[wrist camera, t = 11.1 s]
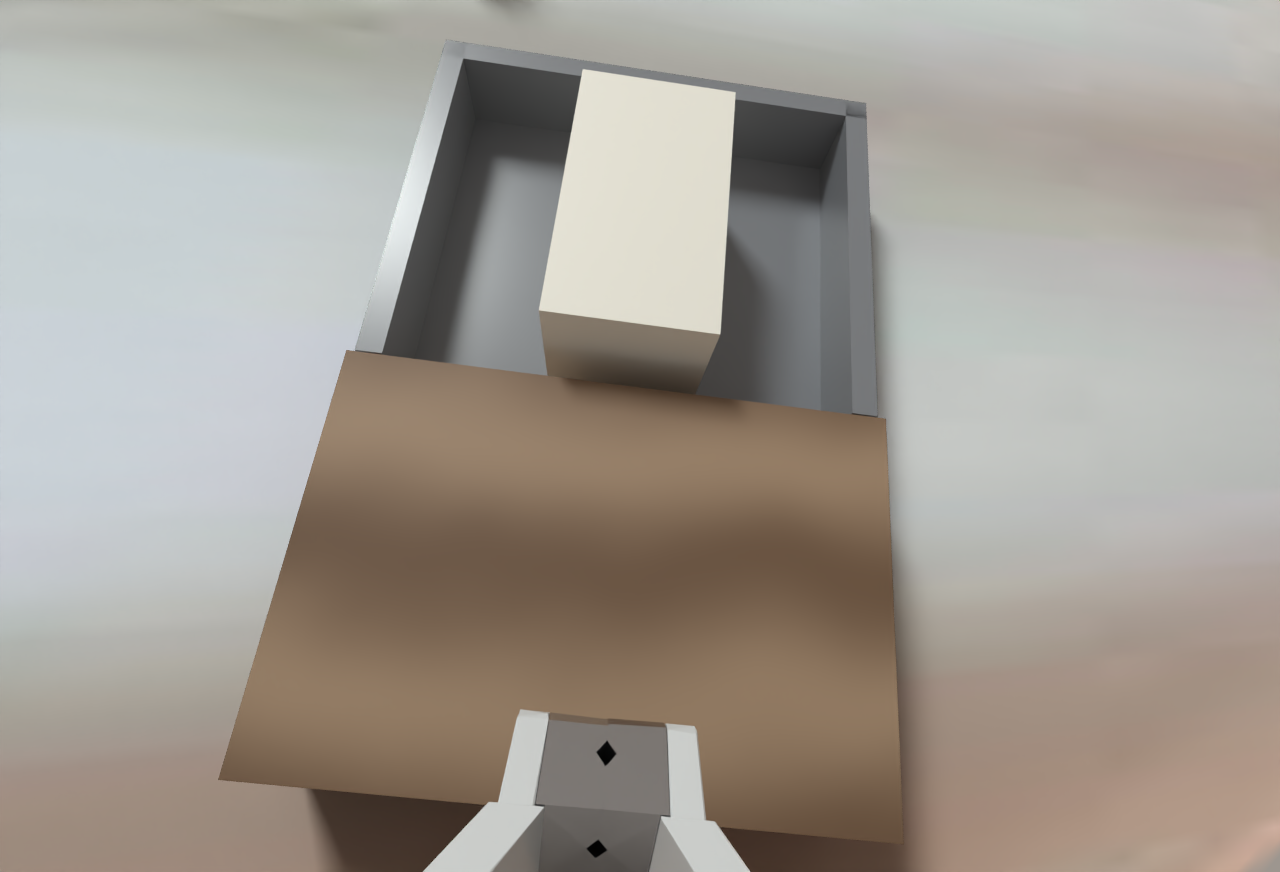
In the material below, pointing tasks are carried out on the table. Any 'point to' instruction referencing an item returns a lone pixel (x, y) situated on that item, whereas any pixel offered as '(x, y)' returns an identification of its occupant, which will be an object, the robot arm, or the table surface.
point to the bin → (526, 210)
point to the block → (640, 234)
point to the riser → (583, 593)
